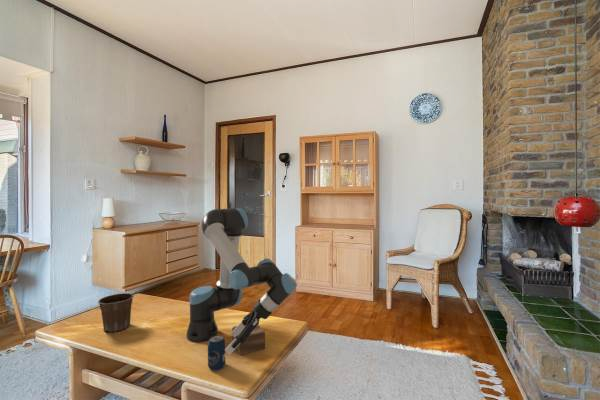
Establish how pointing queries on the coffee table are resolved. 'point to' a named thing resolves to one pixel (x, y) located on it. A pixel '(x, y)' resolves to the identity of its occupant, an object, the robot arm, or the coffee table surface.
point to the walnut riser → (252, 341)
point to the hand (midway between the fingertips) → (230, 343)
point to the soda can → (216, 352)
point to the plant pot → (116, 311)
